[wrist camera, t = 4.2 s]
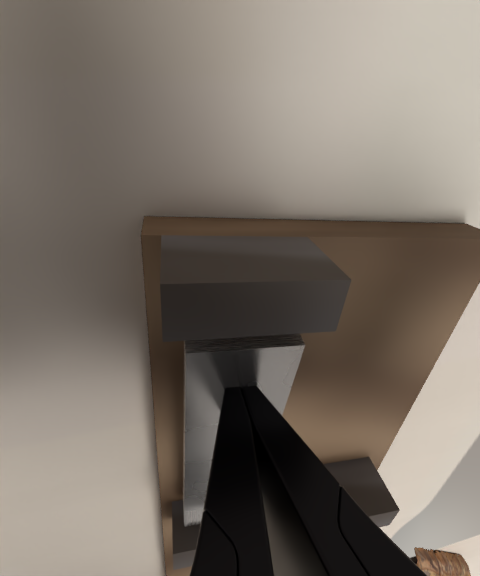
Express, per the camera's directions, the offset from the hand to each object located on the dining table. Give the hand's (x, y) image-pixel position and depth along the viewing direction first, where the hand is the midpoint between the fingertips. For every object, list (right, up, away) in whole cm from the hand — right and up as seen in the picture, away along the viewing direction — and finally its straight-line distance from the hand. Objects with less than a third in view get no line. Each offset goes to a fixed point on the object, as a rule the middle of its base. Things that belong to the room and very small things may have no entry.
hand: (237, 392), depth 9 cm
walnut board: (+2, -6, +8) cm, 10 cm away
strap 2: (-1, -2, +3) cm, 3 cm away
